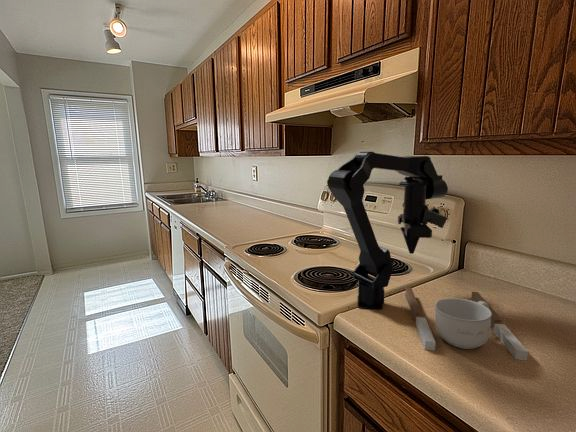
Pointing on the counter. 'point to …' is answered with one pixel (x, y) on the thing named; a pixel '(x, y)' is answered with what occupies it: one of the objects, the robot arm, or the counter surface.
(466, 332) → the teacup
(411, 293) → the cradle
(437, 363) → the counter surface
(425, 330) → the bar
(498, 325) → the marker right
